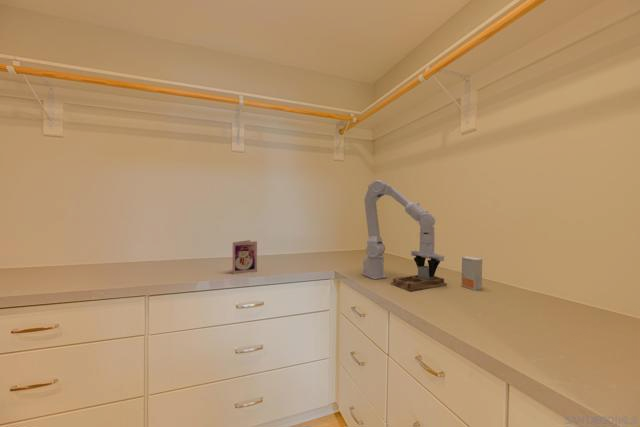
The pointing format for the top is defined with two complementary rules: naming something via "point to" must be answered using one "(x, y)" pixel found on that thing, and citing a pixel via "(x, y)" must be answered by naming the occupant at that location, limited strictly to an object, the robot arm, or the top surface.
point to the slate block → (424, 273)
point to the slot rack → (417, 283)
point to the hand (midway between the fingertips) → (426, 275)
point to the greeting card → (244, 257)
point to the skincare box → (472, 273)
